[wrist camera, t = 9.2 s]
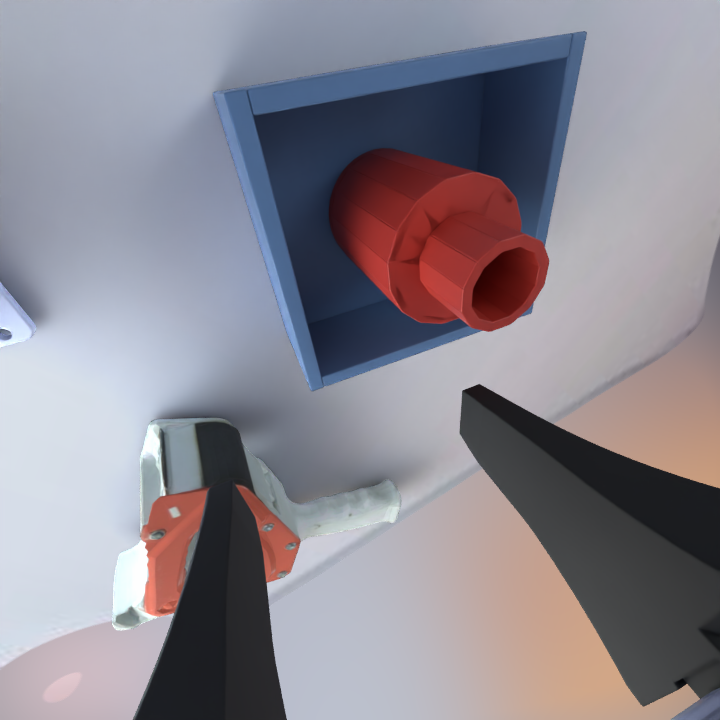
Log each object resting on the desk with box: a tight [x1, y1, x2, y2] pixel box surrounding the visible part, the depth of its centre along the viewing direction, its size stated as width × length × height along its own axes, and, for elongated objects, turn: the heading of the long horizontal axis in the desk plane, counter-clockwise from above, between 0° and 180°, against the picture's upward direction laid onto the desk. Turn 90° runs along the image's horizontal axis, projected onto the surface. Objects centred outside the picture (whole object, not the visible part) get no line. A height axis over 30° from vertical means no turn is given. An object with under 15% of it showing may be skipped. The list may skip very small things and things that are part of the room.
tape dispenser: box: [112, 418, 401, 630], centre depth 25 cm, size 18×5×20 cm
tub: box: [213, 31, 587, 391], centre depth 16 cm, size 12×11×5 cm
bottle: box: [329, 148, 549, 332], centre depth 14 cm, size 5×5×9 cm
